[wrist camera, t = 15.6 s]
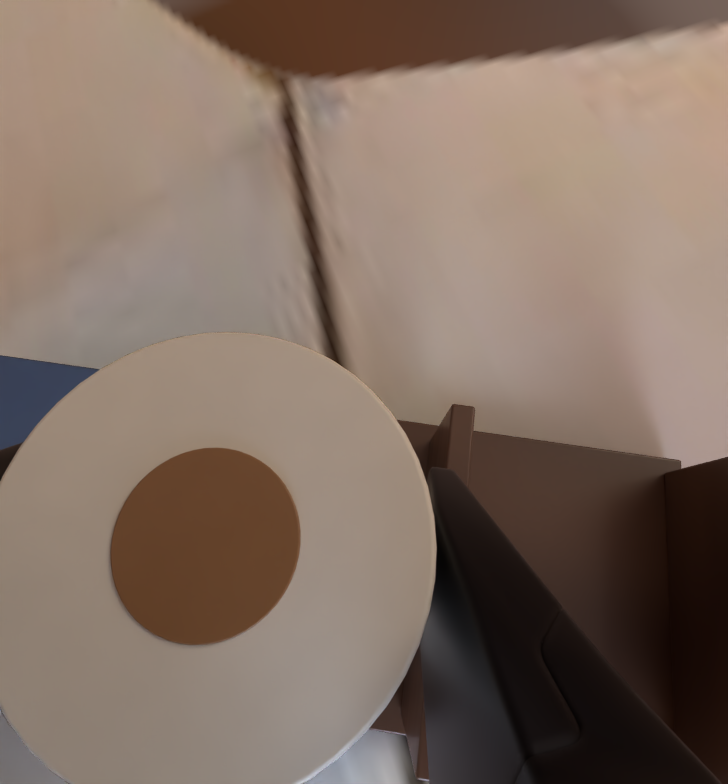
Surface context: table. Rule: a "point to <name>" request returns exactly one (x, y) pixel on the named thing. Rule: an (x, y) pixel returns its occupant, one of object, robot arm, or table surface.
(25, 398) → the slate box
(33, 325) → the table surface
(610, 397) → the table surface
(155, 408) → the paper towel roll
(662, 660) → the rack
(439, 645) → the robot arm
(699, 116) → the table surface
